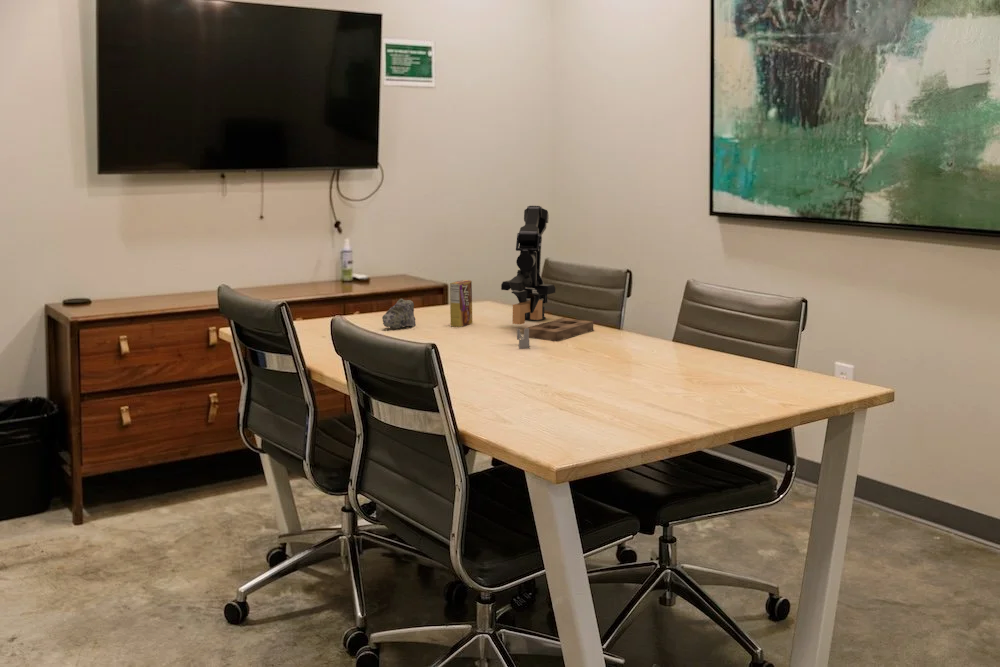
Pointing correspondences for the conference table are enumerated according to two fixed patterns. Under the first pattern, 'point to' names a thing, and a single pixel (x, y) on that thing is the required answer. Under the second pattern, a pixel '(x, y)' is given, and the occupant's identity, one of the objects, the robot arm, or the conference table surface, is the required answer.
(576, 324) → the wooden board with recesses
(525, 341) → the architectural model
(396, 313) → the mineral rock
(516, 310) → the orange brown flat block
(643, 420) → the conference table surface
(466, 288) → the candy box
